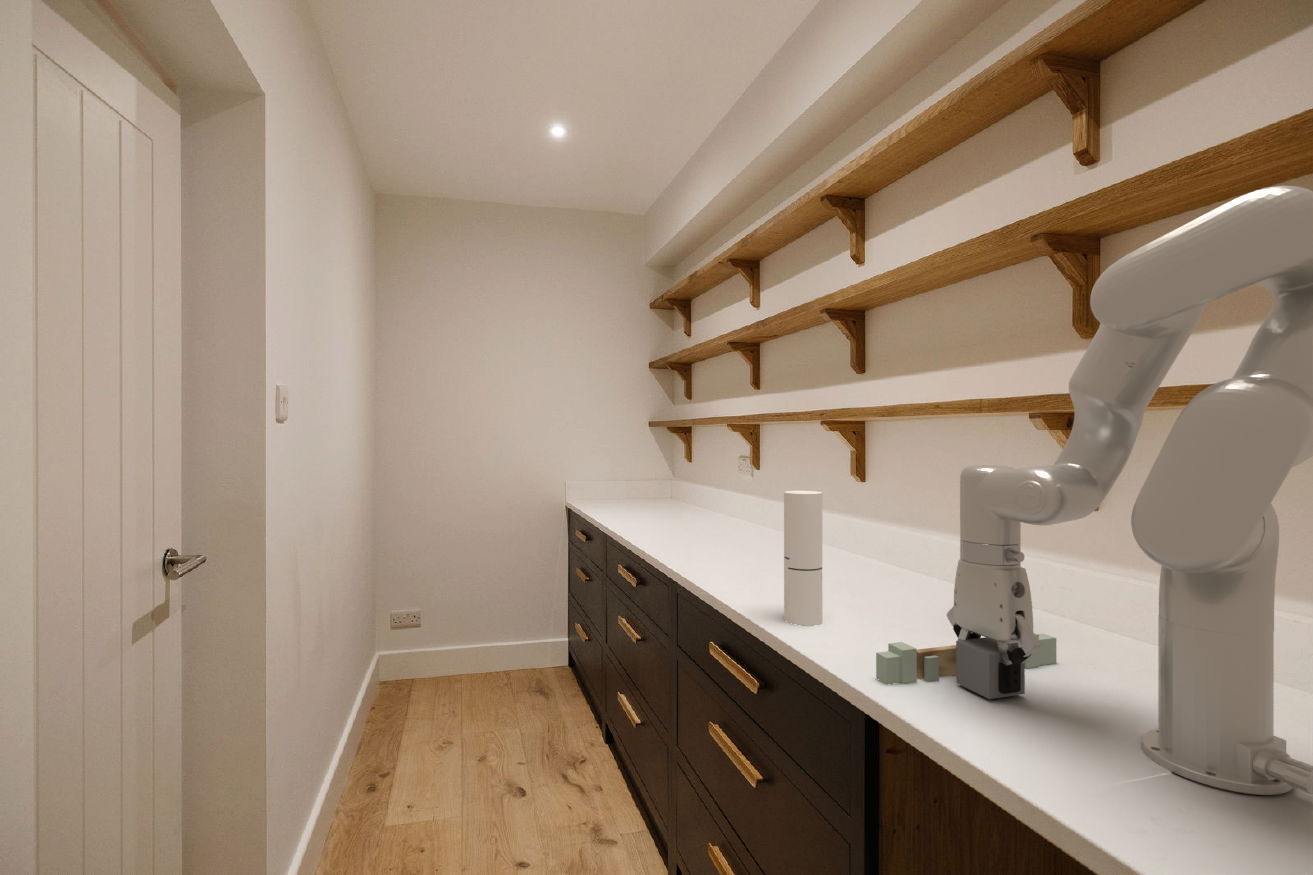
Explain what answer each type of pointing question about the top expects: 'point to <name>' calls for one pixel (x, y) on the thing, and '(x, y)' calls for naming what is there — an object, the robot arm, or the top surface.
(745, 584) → the top surface
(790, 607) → the cylindrical container
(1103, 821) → the top surface
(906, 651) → the grey-green stepped bar
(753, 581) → the top surface
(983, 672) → the rectangular block
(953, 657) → the brown wooden plank
